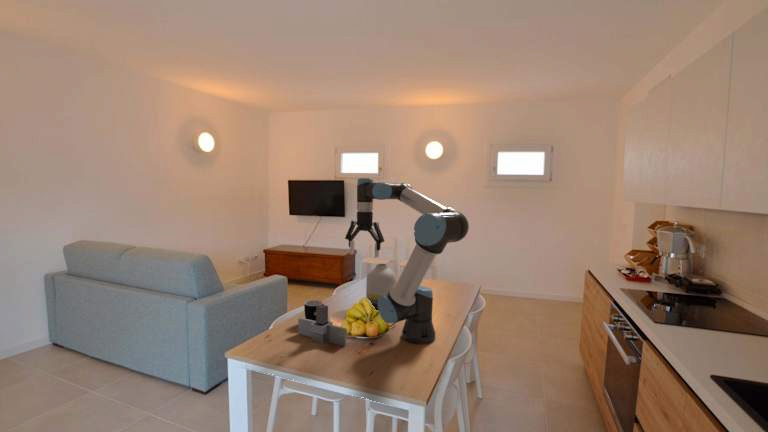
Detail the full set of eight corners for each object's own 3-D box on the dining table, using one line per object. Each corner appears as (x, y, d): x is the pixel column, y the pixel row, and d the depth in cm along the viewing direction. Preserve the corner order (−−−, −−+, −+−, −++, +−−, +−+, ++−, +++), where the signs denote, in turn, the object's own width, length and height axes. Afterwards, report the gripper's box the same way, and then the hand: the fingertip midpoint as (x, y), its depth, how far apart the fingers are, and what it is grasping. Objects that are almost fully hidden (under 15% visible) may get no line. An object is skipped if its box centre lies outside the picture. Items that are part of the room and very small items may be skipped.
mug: (312, 328, 170) (312, 307, 169) (300, 323, 176) (300, 303, 175) (331, 320, 180) (331, 301, 179) (319, 316, 185) (319, 297, 184)
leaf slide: (332, 337, 159) (332, 322, 159) (322, 343, 153) (322, 327, 152) (304, 330, 166) (304, 315, 166) (294, 335, 160) (294, 320, 160)
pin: (327, 339, 158) (327, 305, 157) (322, 342, 155) (322, 308, 154) (321, 337, 160) (321, 304, 159) (316, 340, 157) (316, 306, 156)
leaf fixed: (349, 343, 155) (349, 326, 154) (341, 348, 149) (341, 331, 148) (320, 335, 162) (320, 319, 161) (311, 340, 156) (311, 324, 156)
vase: (390, 313, 192) (391, 269, 190) (361, 309, 197) (362, 266, 195) (399, 303, 208) (400, 263, 206) (372, 300, 213) (373, 260, 211)
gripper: (392, 211, 167) (391, 257, 168) (346, 209, 178) (346, 251, 180) (384, 212, 160) (383, 259, 162) (338, 210, 171) (337, 254, 173)
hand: (364, 255), depth 171 cm, fingers open, 13 cm apart
